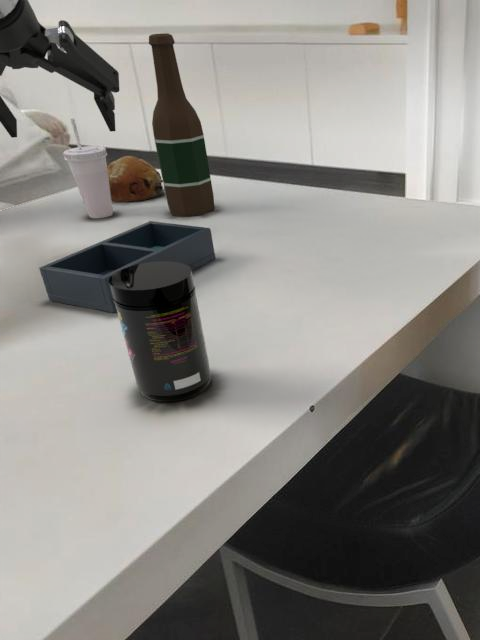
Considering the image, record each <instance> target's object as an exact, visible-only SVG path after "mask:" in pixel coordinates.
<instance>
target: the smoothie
mask: <svg viewBox="0 0 480 640" xmlns="http://www.w3.org/2000/svg"><path fill="white" fill-rule="evenodd" d="M70 123H71V126H72V131H73V135H74V138H75V142H76V145H77V147H72V148H69V149H66V150H64V151H63V153H62V154H63V157H64V160H65V161H66V162H67V163H68V166H69V169H70V172H71V173H72V177H73V179H74V181H75V184H76V186H77V188H78V192H79V194H80V196H81V199H82V202H83V204H84V207H85V209H86V211H87V214H88V217H89V218H90V219H103V218H108V217H111V216H113V215H114V211H113V201H112V200H111V194H110V186H109V178H108V170H107V167H108V164H107V156H108V153H107V148H106V147H105V146H100V145H85V146H82V142H81V138H80V135H79V131H78V128H77V127H78V126H77V123H76V119H75V118H70Z"/></svg>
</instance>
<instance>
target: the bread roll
mask: <svg viewBox="0 0 480 640" xmlns="http://www.w3.org/2000/svg"><path fill="white" fill-rule="evenodd" d="M107 170H108V178H109V186H110V194H111V202H120V203H121V202H123V203H129V202H140V201H147V200H150V199H153V198H156V197H158V196H161V194H162V193H163V190H164V185H163V179H162V175H161V172H160V171H158V170H157V169H156V168H155V166H153V165H151V163H149V162H147V161H146V160H144V159H142V158H138V157H137V156H134V155H125V156H122V157H120V158H118V159H117V160H113V161H112V162H110V163H109V164H107Z"/></svg>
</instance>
